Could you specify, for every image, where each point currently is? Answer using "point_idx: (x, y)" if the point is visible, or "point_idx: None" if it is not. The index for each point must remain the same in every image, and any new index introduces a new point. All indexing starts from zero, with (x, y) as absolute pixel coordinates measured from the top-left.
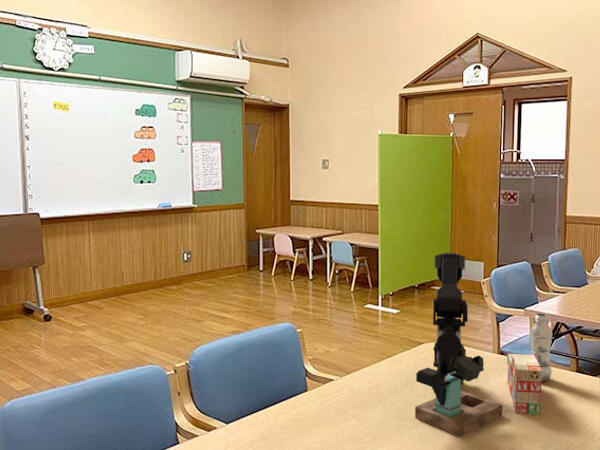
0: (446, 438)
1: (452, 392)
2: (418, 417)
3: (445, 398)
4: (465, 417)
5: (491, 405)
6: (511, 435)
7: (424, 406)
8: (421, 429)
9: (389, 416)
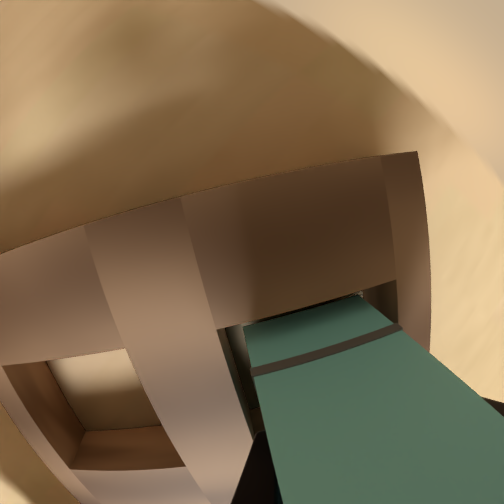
0: (436, 183)
1: (459, 430)
2: None
3: None
4: (303, 228)
5: None
6: (95, 39)
7: None
8: (453, 315)
9: None
